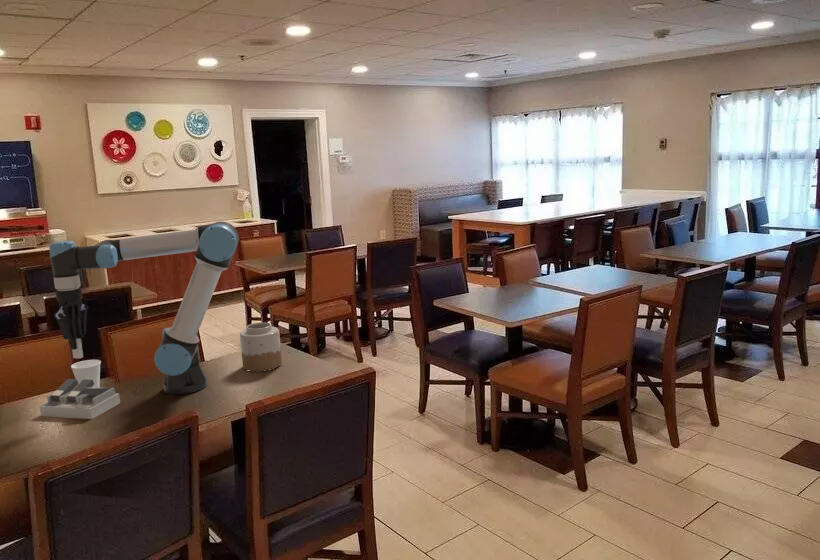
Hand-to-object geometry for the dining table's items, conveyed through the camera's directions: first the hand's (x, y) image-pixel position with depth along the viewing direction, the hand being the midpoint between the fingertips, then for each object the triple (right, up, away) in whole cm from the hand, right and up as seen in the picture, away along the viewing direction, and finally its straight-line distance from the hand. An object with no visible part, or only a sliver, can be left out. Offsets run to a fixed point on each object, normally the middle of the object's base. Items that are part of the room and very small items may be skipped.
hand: (78, 357), depth 215 cm
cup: (-7, -16, +22) cm, 28 cm away
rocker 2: (-2, -12, +5) cm, 13 cm away
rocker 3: (+5, -12, +3) cm, 13 cm away
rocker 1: (-8, -12, +6) cm, 16 cm away
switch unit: (-2, -18, +5) cm, 19 cm away
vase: (+52, -9, +43) cm, 68 cm away
